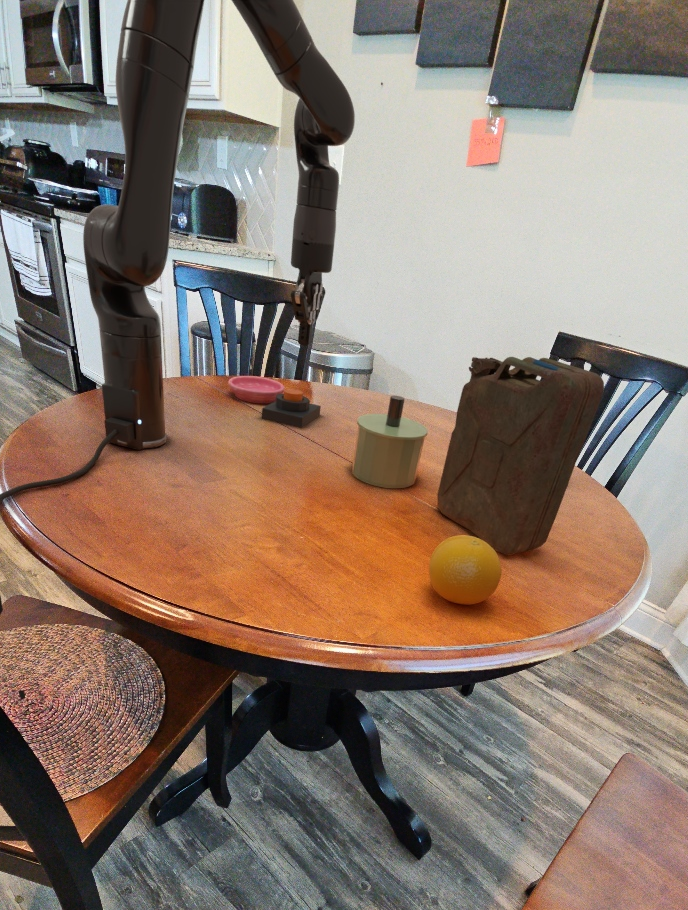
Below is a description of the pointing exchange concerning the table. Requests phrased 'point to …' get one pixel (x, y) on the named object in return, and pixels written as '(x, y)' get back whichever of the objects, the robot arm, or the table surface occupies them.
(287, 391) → the button
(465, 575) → the fruit
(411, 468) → the pot
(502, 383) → the canister
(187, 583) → the table surface
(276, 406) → the button block
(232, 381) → the saucer
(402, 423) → the lid
